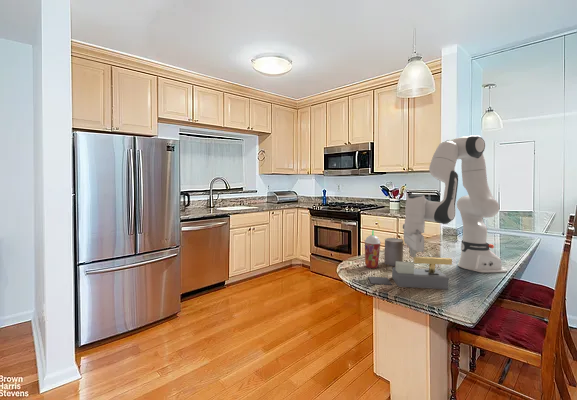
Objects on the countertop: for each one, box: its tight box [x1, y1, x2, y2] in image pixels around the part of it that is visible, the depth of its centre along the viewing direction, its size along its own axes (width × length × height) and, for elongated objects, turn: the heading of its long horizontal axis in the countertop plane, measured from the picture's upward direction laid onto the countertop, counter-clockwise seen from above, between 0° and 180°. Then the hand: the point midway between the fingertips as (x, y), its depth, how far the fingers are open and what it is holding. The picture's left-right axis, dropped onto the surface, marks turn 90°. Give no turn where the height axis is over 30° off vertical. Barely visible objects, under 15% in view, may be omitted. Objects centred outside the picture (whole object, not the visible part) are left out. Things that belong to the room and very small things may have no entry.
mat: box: [367, 276, 392, 286], centre depth 140 cm, size 9×9×1 cm
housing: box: [391, 266, 450, 290], centre depth 138 cm, size 21×12×6 cm, turn 84°
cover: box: [394, 261, 415, 274], centre depth 139 cm, size 7×5×4 cm
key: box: [412, 256, 453, 273], centre depth 137 cm, size 16×2×7 cm, turn 84°
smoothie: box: [364, 229, 382, 269], centre depth 161 cm, size 8×8×20 cm
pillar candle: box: [383, 236, 404, 267], centre depth 168 cm, size 10×10×15 cm
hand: (412, 256), depth 145 cm, fingers closed
